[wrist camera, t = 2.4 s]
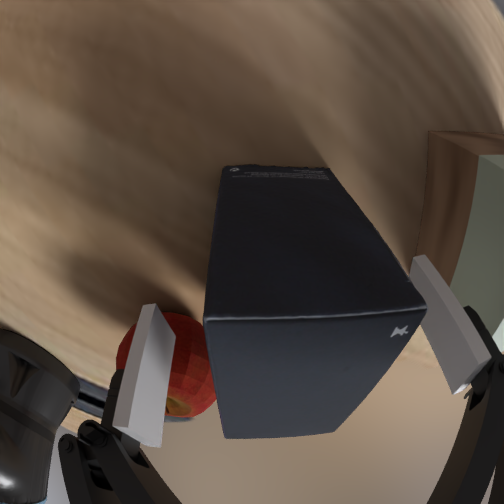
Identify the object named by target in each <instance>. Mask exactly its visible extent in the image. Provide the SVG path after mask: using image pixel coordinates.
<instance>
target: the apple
mask: <svg viewBox="0 0 504 504" xmlns="http://www.w3.org/2000/svg"><path fill="white" fill-rule="evenodd" d="M161 313H162V315H163V316H164V318H165V320H166V321H167V323H168V324H169V326H170V328H171V329H172V331H173V332H174V334H175V336H176V339H175V345H174V351H173V357H172V363H171V370H170V377H169V384H168V391H167V398H166V406H165V414H164V415H168V416H176V417H194V416H196V415H198V414H200V413H202V412H204V411H205V410H206V409H207V408H208V407H210V406H211V405H212V404H213V402H214V401H215V400H216V394H215V389H214V384H213V379H212V374H211V368H210V363H209V357H208V351H207V346H206V341H205V333H204V329H203V326H202V325H201V323H199V322H198V321H196V320H194V319H192V318H190V317H189V316H185V315H181V314H177V313H169V312H161ZM137 323H138V322H137ZM137 323H136V324H134V325H133V326H132V327H131V328H130V330H129V331H128V332H127V334H126V335H125V337H124V338H123V340H122V342H121V344H120V345H119V348H118V352H117V357H116V370H117V369H125V366H126V362H127V359H128V355H129V351H130V347H131V344H132V340H133V337H134V333H135V330H136V326H137Z"/></svg>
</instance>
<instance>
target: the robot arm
mask: <svg viewBox="0 0 504 504" xmlns="http://www.w3.org/2000/svg"><path fill="white" fill-rule="evenodd" d="M409 278H410V280H411V281H412V283H413V285H414V287H415V288H416V289H417V291H418V292H419V293H420V294H421V295H422V297H423V298H424V300H425V302H426V304H427V306H428V311H427V313H426V315H425V317H424V318H423V320H422V321H421V323H420V325H421V327H422V329H423V331H424V333H425V335H426V337H427V339H428V341H429V343H430V345H431V347H432V349H433V351H434V353H435V355H436V358H437V360H438V362H439V364H440V366H441V368H442V371H443V373H444V375H445V378H446V379H447V382H448V385H449V387H450V389H451V392H452V394H453V395H454V394H456V393H458V392H460V391H462V390H464V389H465V388H466V387H467V386H468V385H469V384H470V383H471V385H472V388H471V389H470V390H469V391H468V392H467V393H466V394H465V396H464V399H466V398H467V396H469V398H468V402H467V406H466V409H465V413H464V416H463V419H462V422H461V426H460V429H459V432H458V435H457V438H456V440H455V443H454V446H453V448H452V451H451V454H450V456H449V459H448V461H447V463H446V465H445V468H444V470H443V472H442V474H441V477H440V479H439V481H438V483H437V485H436V487H435V489H434V491H433V493H432V495H431V496H430V498H429V501H428V502H427V504H481V501H482V499H483V497H484V495H485V492H486V490H487V488H488V485H489V483H490V480H491V477H492V475H493V472H494V469H495V466H496V469H495V475H494V480H493V485H492V490H491V494H490V498H489V502H488V504H504V355H503V354H502V353H501V352H500V350H499V349H498V347H497V345H496V343H495V341H494V340H493V338H492V336H491V334H490V333H489V331H488V329H487V328H486V326H485V324H484V323H483V322H482V320H481V318H480V316H479V315H478V313H477V312H476V311H475V310H474V309H473V308H471V307H470V306H469V305H468V306H465V307H462V306H461V304H460V303H459V301H458V300H457V298H456V297H455V295H454V294H453V292H452V291H451V289H450V288H449V286H448V285H447V284H446V282H445V281H444V279H443V278H442V277H441V275H440V274H439V272H438V271H437V270H436V268H435V267H434V266H433V264H432V263H431V262H430V260H429V259H428V258H427V257H426V255H425V254H424V255H420V256H416V257H413V260H412V265H411V269H410V274H409ZM175 339H176V336H175V334H174V332H173V331H172V329H171V328H170V326H169V324H168V323H167V321H166V320H165V318H164V316H163V315H162V313H161V311H160V310H159V308H158V306H157V304H156V303H155V304H147V305H143V307H142V310H141V313H140V316H139V320H138V323H137V326H136V330H135V333H134V337H133V340H132V344H131V347H130V351H129V355H128V359H127V362H126V366H125V369H117V370H116V372H115V373H114V375H113V377H112V379H111V383H110V387H109V388H110V389H109V391H108V397H107V399H106V403H105V407H104V412H103V416H102V421H101V424H99V423H97V422H96V421H94V420H86V421H84V422H83V423H82V424H81V425H80V427H79V429H78V434H77V435H78V437H75V436H73V435H71V434H65V435H63V436H62V437H61V438H60V440H59V443H58V450H59V457H60V462H61V468H62V473H63V477H64V482H65V486H66V490H67V494H68V498H69V501H70V504H182V503H181V502H180V501H179V500H178V498H177V497H176V496H175V495H174V493H173V492H172V491H171V490H170V489H169V487H168V486H167V485H166V483H165V482H164V481H163V479H162V478H161V477H160V475H159V474H158V472H157V471H156V470H155V468H154V467H153V465H152V464H151V463H150V461H149V460H148V458H147V457H146V455H145V454H144V452H143V451H142V449H141V448H140V443H142V444H144V445H146V446H152V447H161V441H162V432H163V423H164V414H165V406H166V398H167V391H168V384H169V377H170V370H171V363H172V357H173V351H174V345H175ZM79 391H80V384H79V382H78V380H77V379H76V377H75V376H74V375H73V374H72V373H71V372H70V371H69V370H68V369H67V368H66V367H65V366H64V365H63V364H62V363H61V362H59V361H58V360H57V359H56V358H54V357H53V356H52V355H50V354H49V353H48V352H46V351H45V350H43V349H42V348H40V347H39V346H37V345H36V344H34V343H32V342H31V341H29V340H27V339H25V338H23V337H21V336H19V335H17V334H15V333H12V332H10V331H6V330H0V504H45V502H46V500H47V488H48V478H49V469H50V463H51V456H52V450H53V444H54V439H55V435H56V431H57V429H58V427H59V426H60V424H61V423H62V422H63V420H64V419H65V417H66V416H67V414H68V412H69V411H70V409H71V407H72V406H73V405H74V404H75V403H76V401H77V398H78V394H79Z"/></svg>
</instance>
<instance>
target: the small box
mask: <svg viewBox="0 0 504 504" xmlns="http://www.w3.org/2000/svg"><path fill="white" fill-rule="evenodd" d="M427 311H428V306H427V304H426V302H425V300H424V298H423V297H422V295H421V294H420V293H419V292H418V291H417V289H416V288H415V287H414V285H413V283H412V281H411V280H410V278H409V277H408V275H407V274H406V272H405V271H404V269H403V268H402V266H401V264H400V262H399V261H398V260H397V258H396V257H395V255H394V254H393V253H392V251H391V249H390V248H389V247H388V245H387V243H386V242H385V241H384V240H383V238H382V237H381V235H380V234H379V232H378V231H377V230H376V228H375V227H374V226H373V224H372V223H371V222H370V221H369V219H368V218H367V217H366V215H365V214H364V213H363V211H362V210H361V209H360V207H359V206H358V205H357V204H356V202H355V201H354V200H353V198H352V197H351V196H350V195H349V194H348V192H347V191H346V190H345V188H344V187H343V186H342V185H341V183H340V182H339V181H338V179H337V178H336V177H335V175H334V174H333V172H332V171H331V170H330V168H327V169H325V168H323V167H322V168H308V167H304V168H298V167H276V166H259V165H240V166H225V167H224V168H223V170H222V176H221V181H220V187H219V192H218V199H217V204H216V212H215V220H214V227H213V234H212V242H211V250H210V258H209V266H208V274H207V283H206V292H205V304H204V313H203V329H204V333H205V341H206V346H207V351H208V357H209V363H210V368H211V374H212V379H213V384H214V389H215V394H216V399H217V404H218V409H219V414H220V418H221V424H222V428H223V433H224V437H225V438H226V439H251V438H280V437H296V436H305V435H315V434H323V433H330V432H334V431H335V430H336V429H337V428H338V427H339V426H340V425H341V424H342V423H343V422H344V421H345V420H346V419H347V418H348V416H350V415H351V413H352V412H353V411H354V410H355V409H356V408H357V407H358V406H359V404H360V403H361V402H362V401H363V400H364V399H365V398H366V397H367V395H368V394H369V393H370V392H371V391H372V389H373V388H374V387H375V386H376V384H377V383H378V382H379V380H380V379H381V378H382V377H383V375H384V374H385V373H386V372H387V371H388V369H389V368H390V367H391V365H392V364H393V362H394V361H395V360H396V358H397V357H398V356H399V354H400V353H401V351H402V350H403V348H404V347H405V346H406V344H407V343H408V342H409V340H410V339H411V337H412V335H413V334H414V333H415V331H416V329H417V328H418V326H419V325H420V323H421V321H422V320H423V318H424V317H425V315H426V313H427Z"/></svg>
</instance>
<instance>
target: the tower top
mask: <svg viewBox="0 0 504 504" xmlns="http://www.w3.org/2000/svg"><path fill="white" fill-rule="evenodd" d="M449 288H450V289H451V291H452V292H453V294H454V295H455V297H456V298H457V300H458V301H459V303H460V304H461V306H462V307H465V306H468V305H469V306H470V307H471V308H473V309H474V310H475V311H476V312H477V313H478V315H479V316H480V318H481V320H482V322H483V323H484V324H485V326H486V328H487V329H488V331H489V333H490V334H491V336H492V338H493V340H494V341H495V343H496V345H497V347H498V349H499V350H500V352H503V351H504V155H479V161H478V170H477V177H476V184H475V191H474V196H473V202H472V207H471V212H470V217H469V221H468V226H467V230H466V234H465V238H464V242H463V246H462V249H461V253H460V256H459V260H458V263H457V266H456V269H455V272H454V275H453V278H452V281H451V284H450V287H449Z"/></svg>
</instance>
